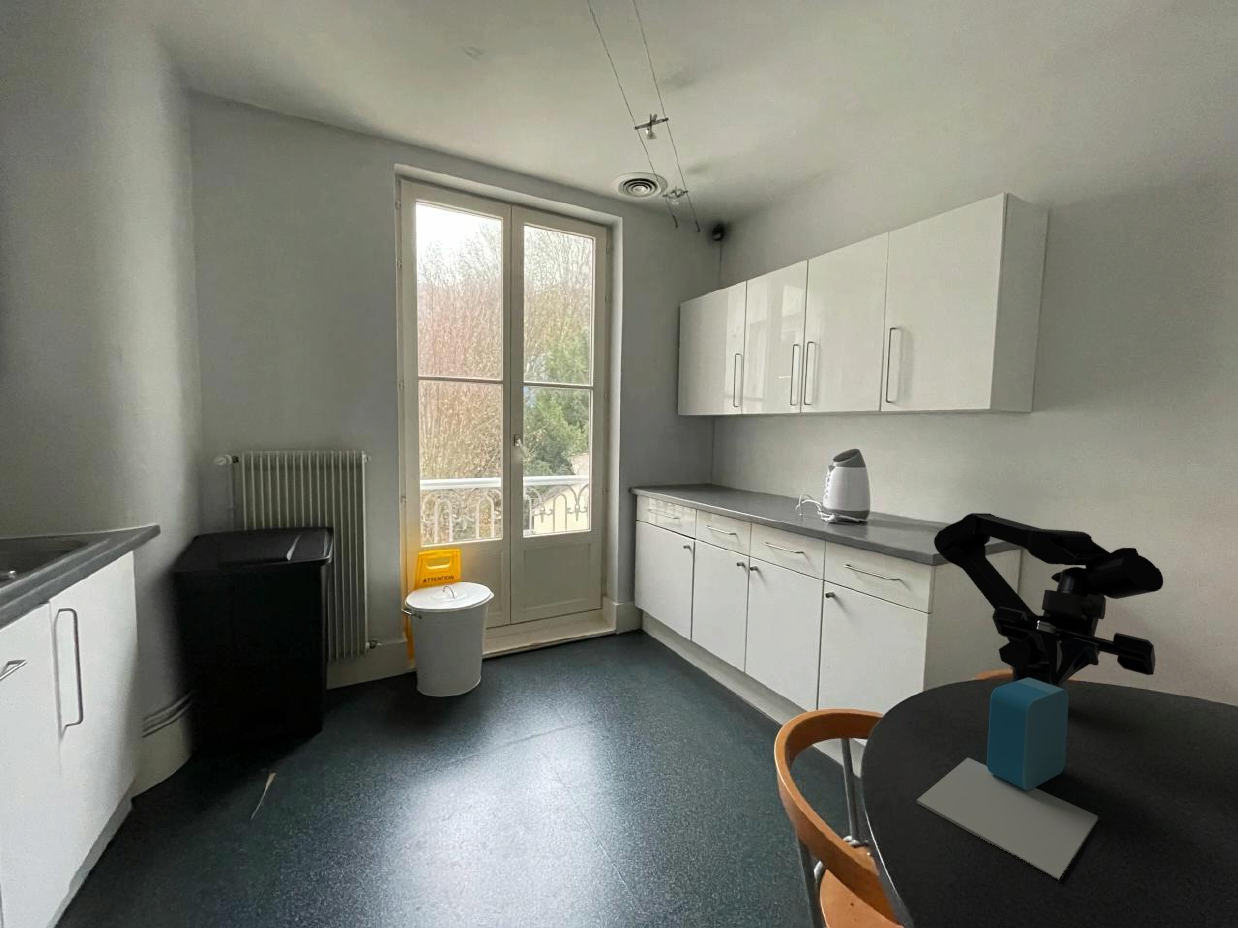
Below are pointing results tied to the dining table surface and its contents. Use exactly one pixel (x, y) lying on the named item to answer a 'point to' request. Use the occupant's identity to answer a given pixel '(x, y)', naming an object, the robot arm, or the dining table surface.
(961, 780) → the mat
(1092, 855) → the dining table surface
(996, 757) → the blue rounded flat block
